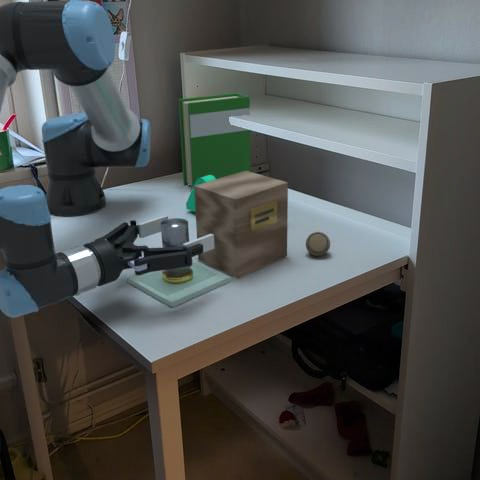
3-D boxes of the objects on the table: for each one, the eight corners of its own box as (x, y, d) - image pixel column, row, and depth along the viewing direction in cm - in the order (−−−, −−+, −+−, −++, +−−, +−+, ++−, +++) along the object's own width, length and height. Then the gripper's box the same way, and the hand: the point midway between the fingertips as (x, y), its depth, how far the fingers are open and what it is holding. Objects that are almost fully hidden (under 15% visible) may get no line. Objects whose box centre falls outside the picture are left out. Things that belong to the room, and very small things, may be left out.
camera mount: (242, 215, 148) (241, 175, 144) (221, 224, 143) (219, 183, 139) (208, 205, 156) (206, 166, 152) (186, 213, 151) (184, 173, 147)
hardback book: (193, 191, 165) (189, 103, 156) (183, 184, 172) (178, 99, 162) (250, 181, 173) (249, 96, 163) (238, 175, 179) (237, 92, 169)
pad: (127, 282, 116) (126, 277, 116) (184, 259, 125) (184, 255, 124) (171, 307, 107) (171, 302, 106) (230, 281, 115) (230, 276, 115)
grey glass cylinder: (156, 276, 115) (152, 223, 111) (180, 267, 119) (177, 215, 115) (175, 286, 111) (171, 231, 107) (199, 276, 115) (196, 222, 111)
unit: (198, 259, 125) (194, 185, 118) (246, 240, 133) (245, 170, 127) (239, 278, 116) (238, 200, 110) (289, 257, 125) (289, 183, 119)
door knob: (300, 254, 126) (301, 232, 124) (318, 248, 129) (319, 226, 127) (316, 262, 123) (317, 239, 121) (334, 255, 125) (335, 233, 123)
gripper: (56, 264, 111) (151, 232, 124) (134, 312, 94) (234, 269, 107) (50, 226, 108) (148, 197, 121) (129, 268, 91) (233, 230, 104)
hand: (189, 231), depth 114 cm, fingers open, 13 cm apart
